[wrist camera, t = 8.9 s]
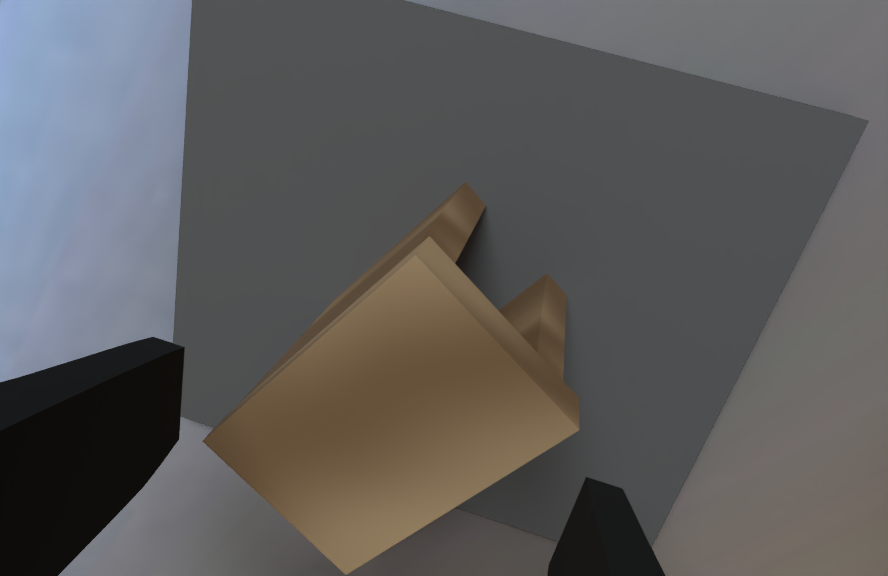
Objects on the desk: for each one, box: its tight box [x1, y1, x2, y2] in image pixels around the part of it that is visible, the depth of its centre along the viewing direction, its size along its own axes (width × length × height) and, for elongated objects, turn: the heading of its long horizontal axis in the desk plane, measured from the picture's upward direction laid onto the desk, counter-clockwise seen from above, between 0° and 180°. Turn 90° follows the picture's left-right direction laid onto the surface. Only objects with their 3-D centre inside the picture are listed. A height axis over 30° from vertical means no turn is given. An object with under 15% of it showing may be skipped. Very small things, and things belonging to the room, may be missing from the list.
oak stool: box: [203, 182, 580, 575], centre depth 14 cm, size 4×6×6 cm, turn 133°
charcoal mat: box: [173, 0, 869, 547], centre depth 18 cm, size 16×14×1 cm
